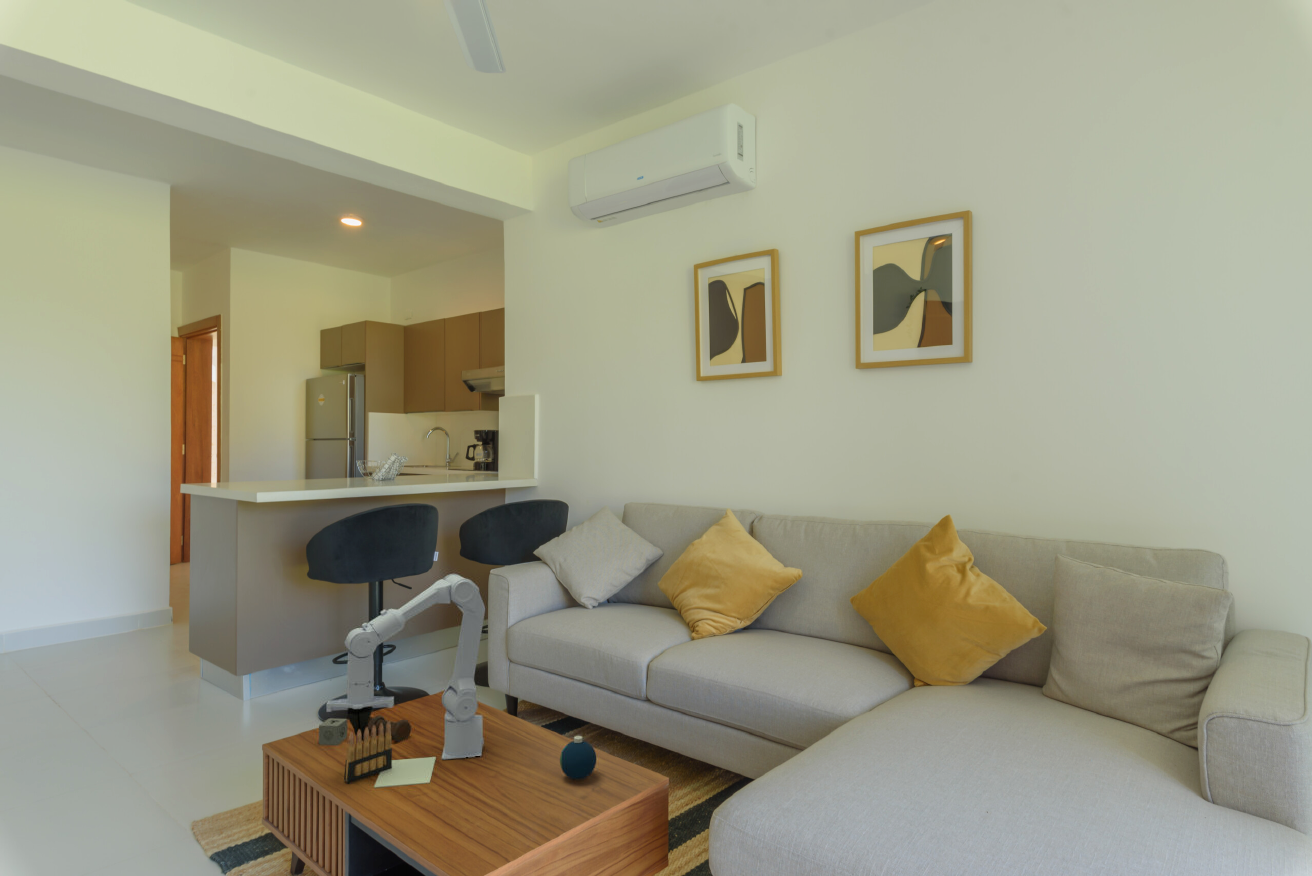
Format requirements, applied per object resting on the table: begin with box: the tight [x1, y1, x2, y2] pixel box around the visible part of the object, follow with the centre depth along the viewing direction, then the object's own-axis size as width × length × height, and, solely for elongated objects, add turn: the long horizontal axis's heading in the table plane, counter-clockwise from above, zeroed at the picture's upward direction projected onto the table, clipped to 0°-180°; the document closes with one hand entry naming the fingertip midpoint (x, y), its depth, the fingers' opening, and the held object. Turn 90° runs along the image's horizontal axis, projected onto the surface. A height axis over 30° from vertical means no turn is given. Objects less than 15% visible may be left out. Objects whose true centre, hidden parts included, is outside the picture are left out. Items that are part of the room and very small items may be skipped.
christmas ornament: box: [559, 734, 597, 781], centre depth 170 cm, size 8×8×10 cm
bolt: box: [367, 715, 412, 743], centre depth 196 cm, size 6×5×15 cm
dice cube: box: [318, 717, 348, 746], centre depth 192 cm, size 5×5×5 cm
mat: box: [373, 756, 437, 789], centre depth 173 cm, size 12×14×1 cm
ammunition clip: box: [343, 719, 393, 785], centre depth 171 cm, size 11×2×12 cm, turn 136°
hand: (360, 739), depth 171 cm, fingers closed
